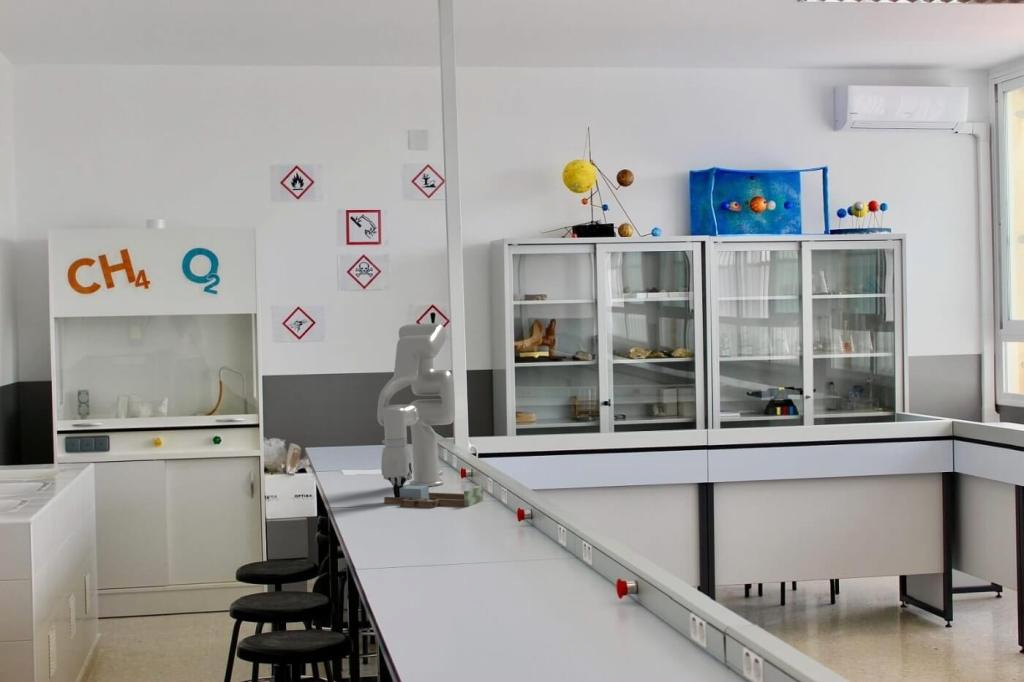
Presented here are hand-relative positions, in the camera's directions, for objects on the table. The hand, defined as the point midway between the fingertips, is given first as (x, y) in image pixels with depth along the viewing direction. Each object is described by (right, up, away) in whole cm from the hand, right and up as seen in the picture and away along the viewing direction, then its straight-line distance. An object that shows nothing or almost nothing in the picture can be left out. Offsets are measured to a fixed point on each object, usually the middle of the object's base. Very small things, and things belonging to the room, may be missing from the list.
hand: (398, 496), depth 378 cm
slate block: (+6, -1, -3) cm, 7 cm away
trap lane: (+12, -1, -7) cm, 14 cm away
